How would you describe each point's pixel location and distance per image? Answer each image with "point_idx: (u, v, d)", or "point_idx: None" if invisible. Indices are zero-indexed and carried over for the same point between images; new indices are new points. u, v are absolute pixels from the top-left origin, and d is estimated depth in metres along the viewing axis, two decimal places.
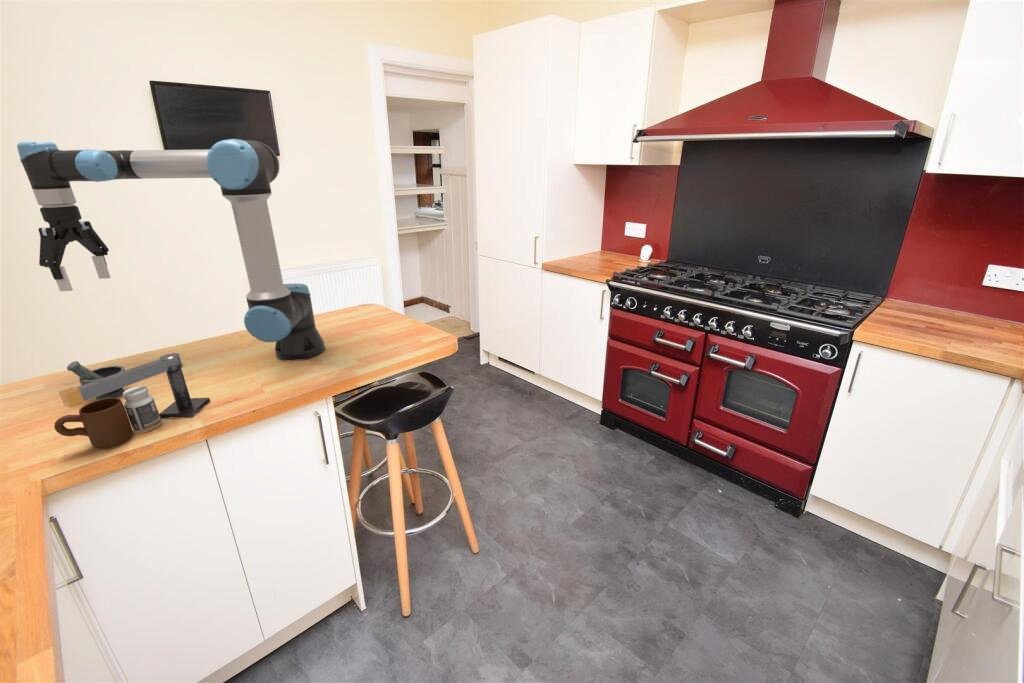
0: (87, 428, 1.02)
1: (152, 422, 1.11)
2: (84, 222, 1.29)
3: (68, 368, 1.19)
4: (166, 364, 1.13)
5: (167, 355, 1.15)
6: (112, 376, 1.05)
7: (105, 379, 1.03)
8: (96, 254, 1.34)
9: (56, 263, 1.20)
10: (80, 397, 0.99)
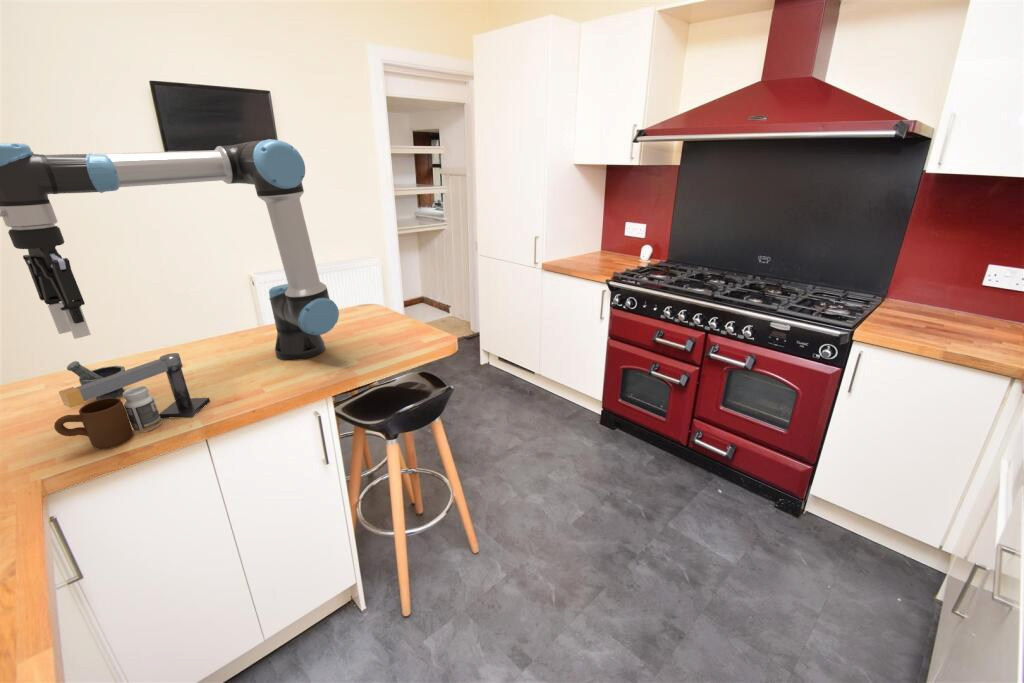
0: (87, 428, 1.02)
1: (152, 422, 1.11)
2: None
3: (68, 368, 1.19)
4: (166, 364, 1.13)
5: (167, 355, 1.15)
6: (112, 376, 1.05)
7: (105, 379, 1.03)
8: (52, 302, 1.01)
9: None
10: (80, 397, 0.99)
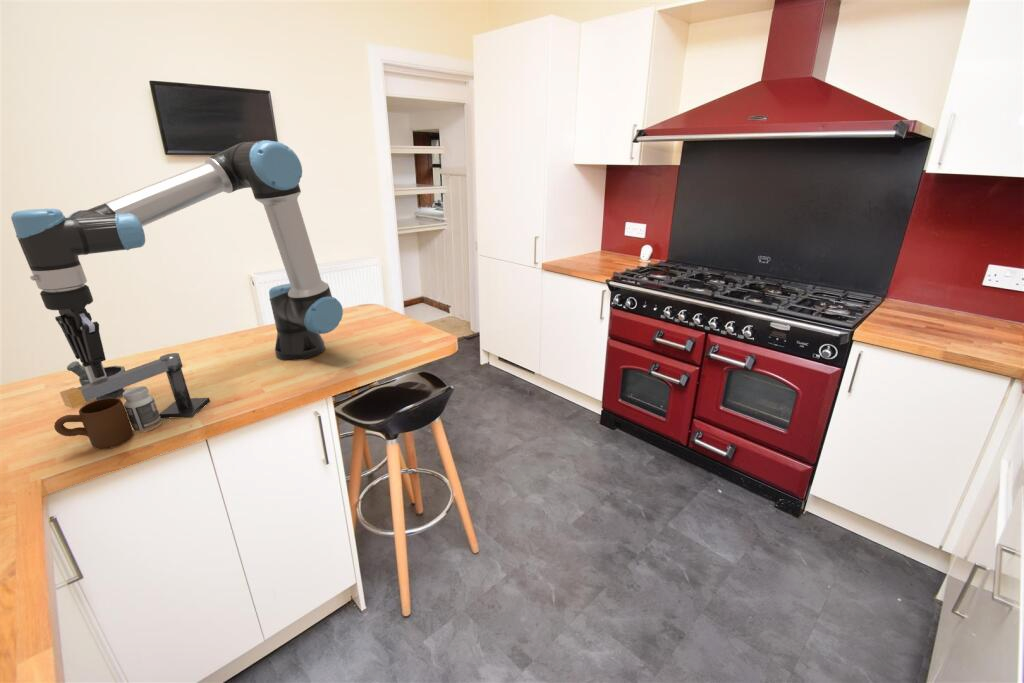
0: (87, 428, 1.02)
1: (152, 422, 1.11)
2: None
3: (68, 368, 1.19)
4: (166, 364, 1.13)
5: (167, 355, 1.15)
6: (113, 376, 1.05)
7: (106, 379, 1.03)
8: None
9: None
10: (81, 397, 0.99)
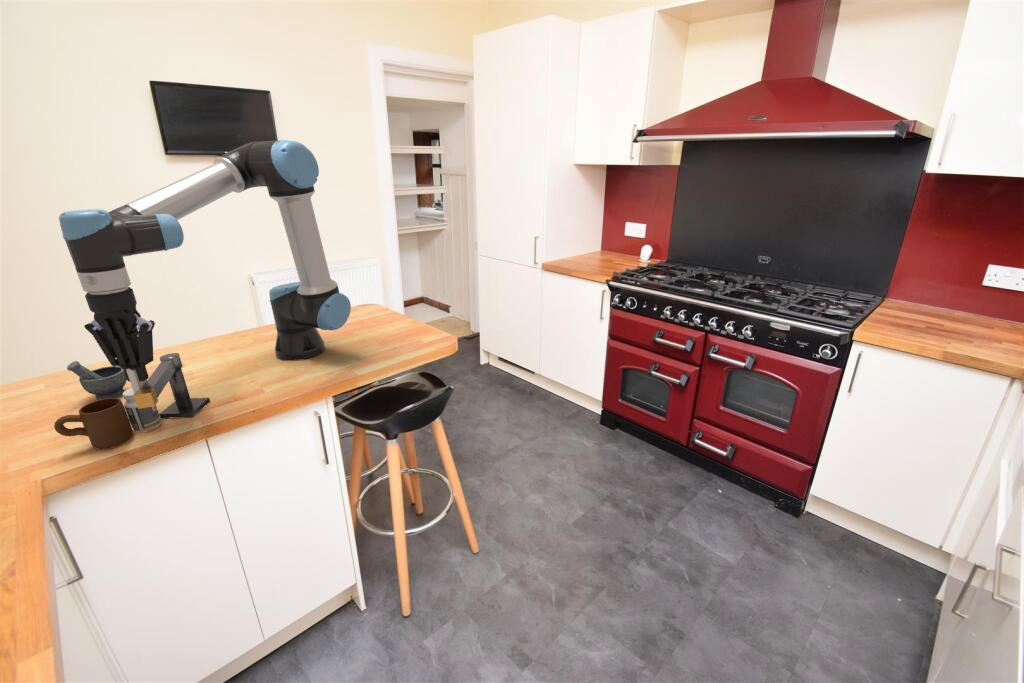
0: (87, 428, 1.02)
1: (152, 422, 1.11)
2: None
3: (68, 368, 1.19)
4: (174, 362, 1.14)
5: (164, 356, 1.14)
6: (154, 377, 1.04)
7: (154, 379, 1.03)
8: (128, 365, 0.99)
9: None
10: (155, 395, 0.99)
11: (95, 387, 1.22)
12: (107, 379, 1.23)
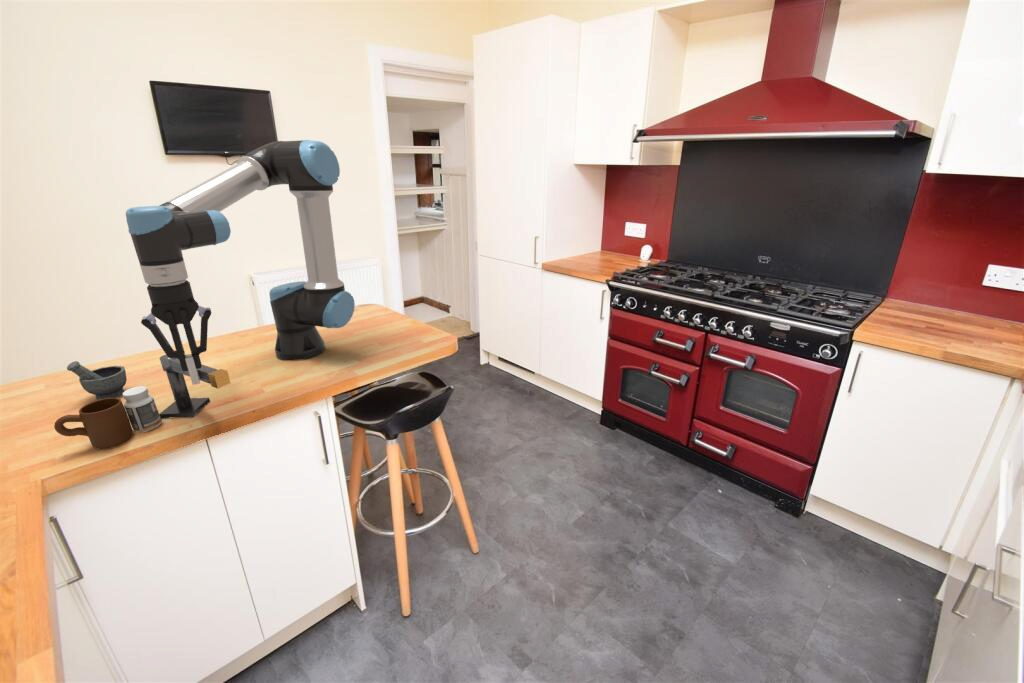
0: (87, 428, 1.02)
1: (152, 422, 1.11)
2: (145, 317, 0.99)
3: (68, 368, 1.19)
4: None
5: (164, 357, 1.14)
6: None
7: (202, 367, 1.09)
8: (184, 355, 1.04)
9: None
10: None
11: (95, 387, 1.22)
12: (107, 379, 1.23)
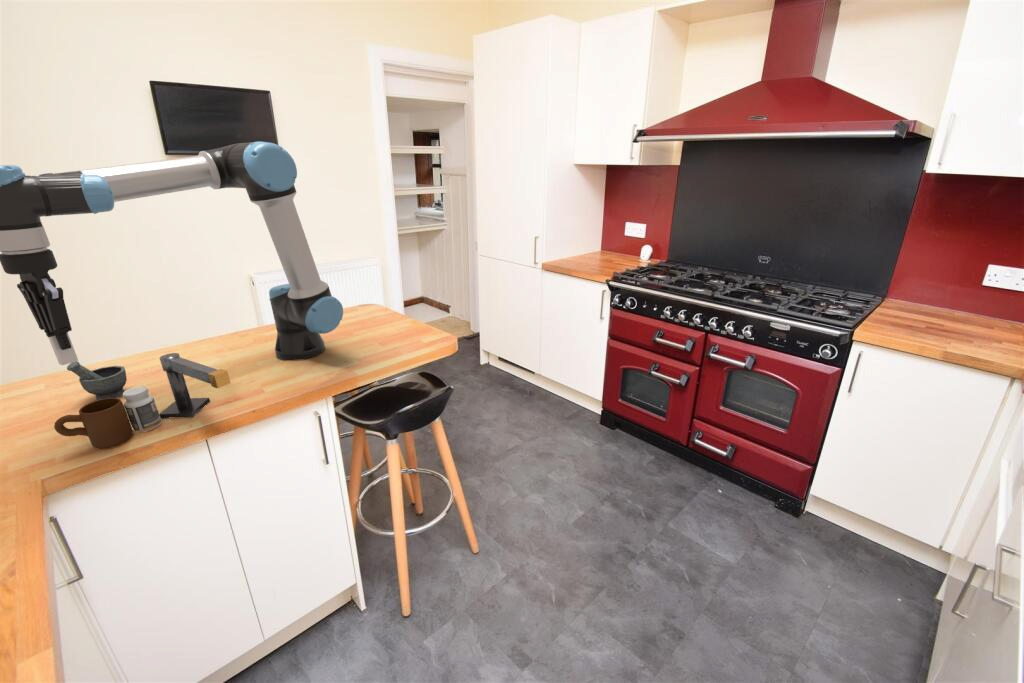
0: (87, 428, 1.02)
1: (152, 422, 1.11)
2: None
3: (68, 368, 1.19)
4: None
5: (164, 357, 1.14)
6: (197, 366, 1.09)
7: (202, 367, 1.09)
8: None
9: None
10: None
11: (95, 387, 1.22)
12: (107, 379, 1.23)
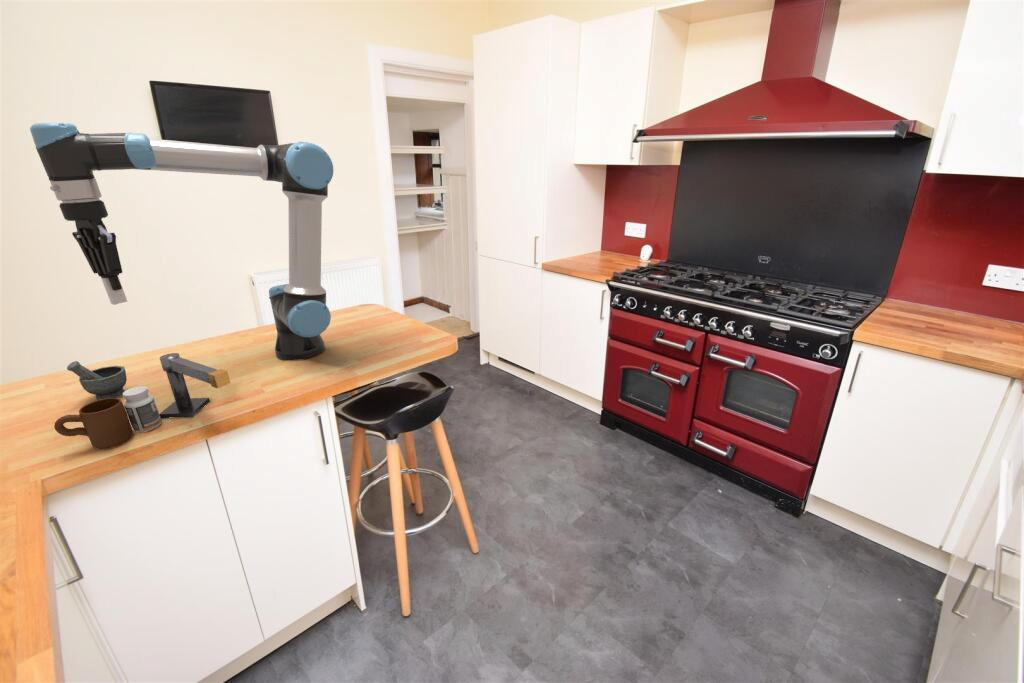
0: (87, 428, 1.02)
1: (152, 422, 1.11)
2: None
3: (68, 368, 1.19)
4: None
5: (164, 357, 1.14)
6: (197, 366, 1.09)
7: (202, 367, 1.09)
8: None
9: None
10: None
11: (95, 387, 1.22)
12: (107, 379, 1.23)
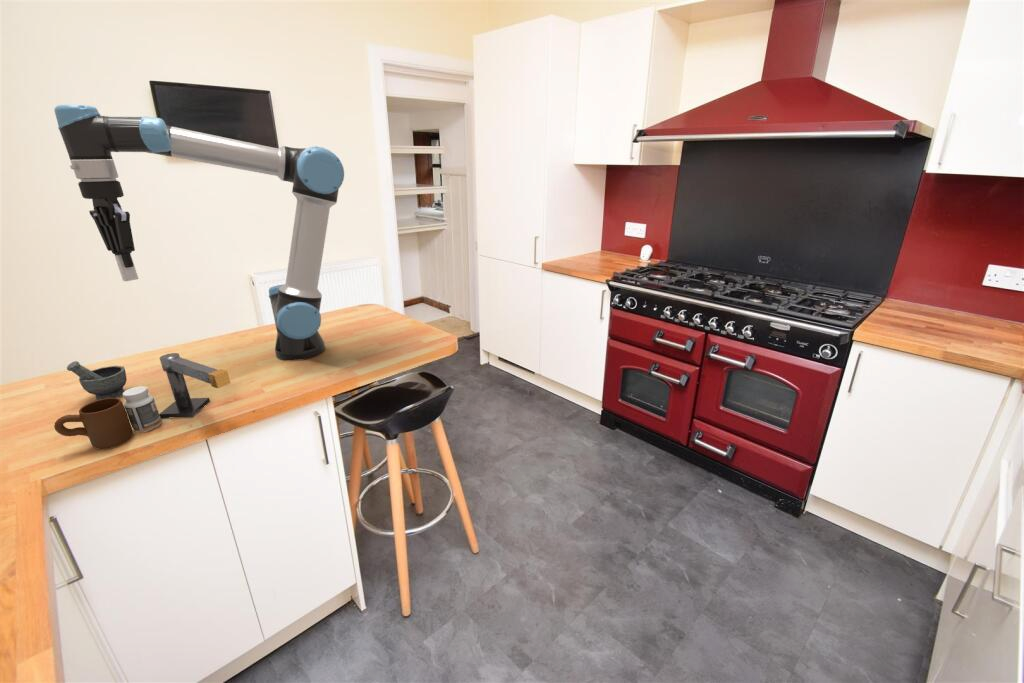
0: (87, 428, 1.02)
1: (152, 422, 1.11)
2: None
3: (68, 368, 1.19)
4: None
5: (164, 357, 1.14)
6: (197, 366, 1.09)
7: (202, 367, 1.09)
8: None
9: None
10: None
11: (95, 387, 1.22)
12: (107, 379, 1.23)
